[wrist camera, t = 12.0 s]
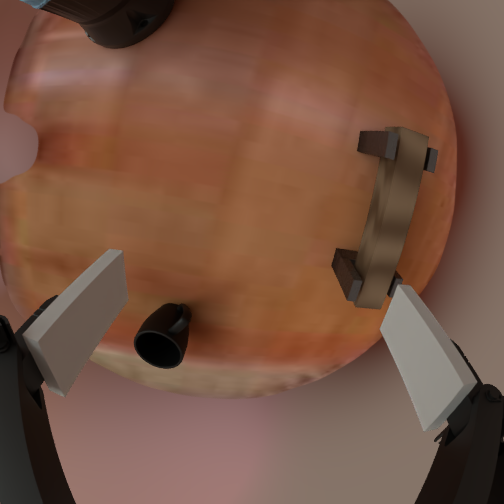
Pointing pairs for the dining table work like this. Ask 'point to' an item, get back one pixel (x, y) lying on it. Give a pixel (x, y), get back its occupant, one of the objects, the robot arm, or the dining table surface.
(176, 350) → the mug
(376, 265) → the rail
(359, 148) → the bracket
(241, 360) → the dining table surface
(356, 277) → the bracket
